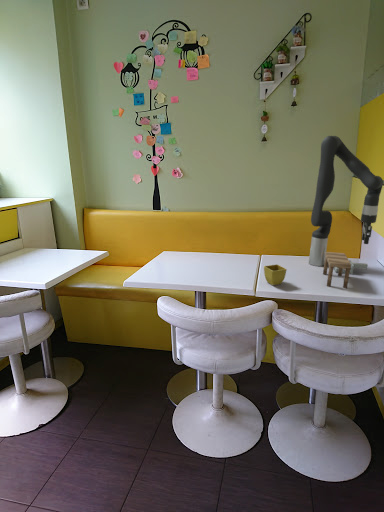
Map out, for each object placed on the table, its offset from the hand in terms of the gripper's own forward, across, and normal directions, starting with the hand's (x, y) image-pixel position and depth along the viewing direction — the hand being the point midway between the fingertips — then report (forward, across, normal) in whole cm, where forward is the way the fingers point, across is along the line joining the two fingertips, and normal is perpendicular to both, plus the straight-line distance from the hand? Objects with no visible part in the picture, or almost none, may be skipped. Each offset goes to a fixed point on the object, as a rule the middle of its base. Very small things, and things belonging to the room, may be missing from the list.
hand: (364, 242), depth 192 cm
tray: (+19, -2, -5) cm, 19 cm away
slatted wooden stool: (+19, +17, -15) cm, 29 cm away
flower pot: (+19, +32, -46) cm, 59 cm away
